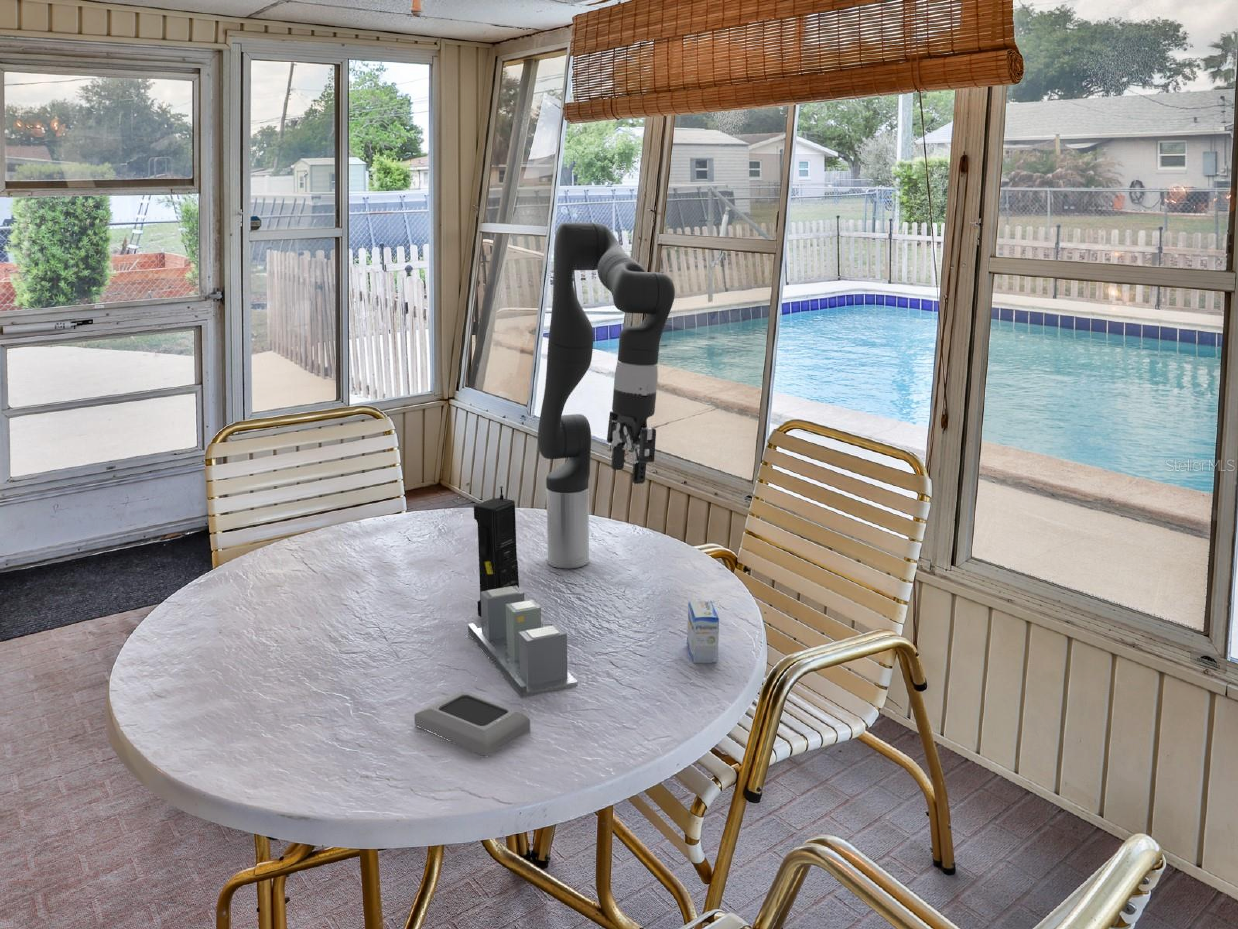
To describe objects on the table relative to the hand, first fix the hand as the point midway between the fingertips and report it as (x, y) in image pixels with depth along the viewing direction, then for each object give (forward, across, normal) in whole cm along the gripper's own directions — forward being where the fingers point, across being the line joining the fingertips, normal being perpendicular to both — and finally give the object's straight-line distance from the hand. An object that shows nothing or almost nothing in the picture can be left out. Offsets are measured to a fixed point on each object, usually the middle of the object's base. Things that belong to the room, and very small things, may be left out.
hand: (627, 476), depth 184 cm
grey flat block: (+32, +24, -35) cm, 53 cm away
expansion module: (+31, +3, -19) cm, 36 cm away
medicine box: (+29, +15, +10) cm, 35 cm away
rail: (+32, +4, -20) cm, 37 cm away
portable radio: (+32, -16, -17) cm, 40 cm away
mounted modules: (+32, +4, -20) cm, 37 cm away
